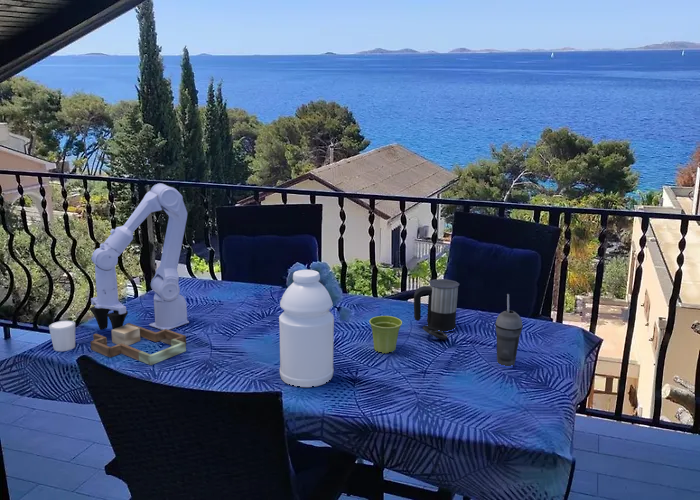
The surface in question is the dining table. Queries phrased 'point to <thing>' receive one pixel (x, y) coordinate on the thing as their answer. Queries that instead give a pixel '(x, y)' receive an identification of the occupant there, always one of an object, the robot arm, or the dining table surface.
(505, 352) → the beverage cup
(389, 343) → the plant pot
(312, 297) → the bottle
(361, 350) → the dining table surface
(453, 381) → the dining table surface
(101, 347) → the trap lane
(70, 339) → the white tapered cup
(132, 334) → the oak block
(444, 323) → the milk frother
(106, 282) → the robot arm
